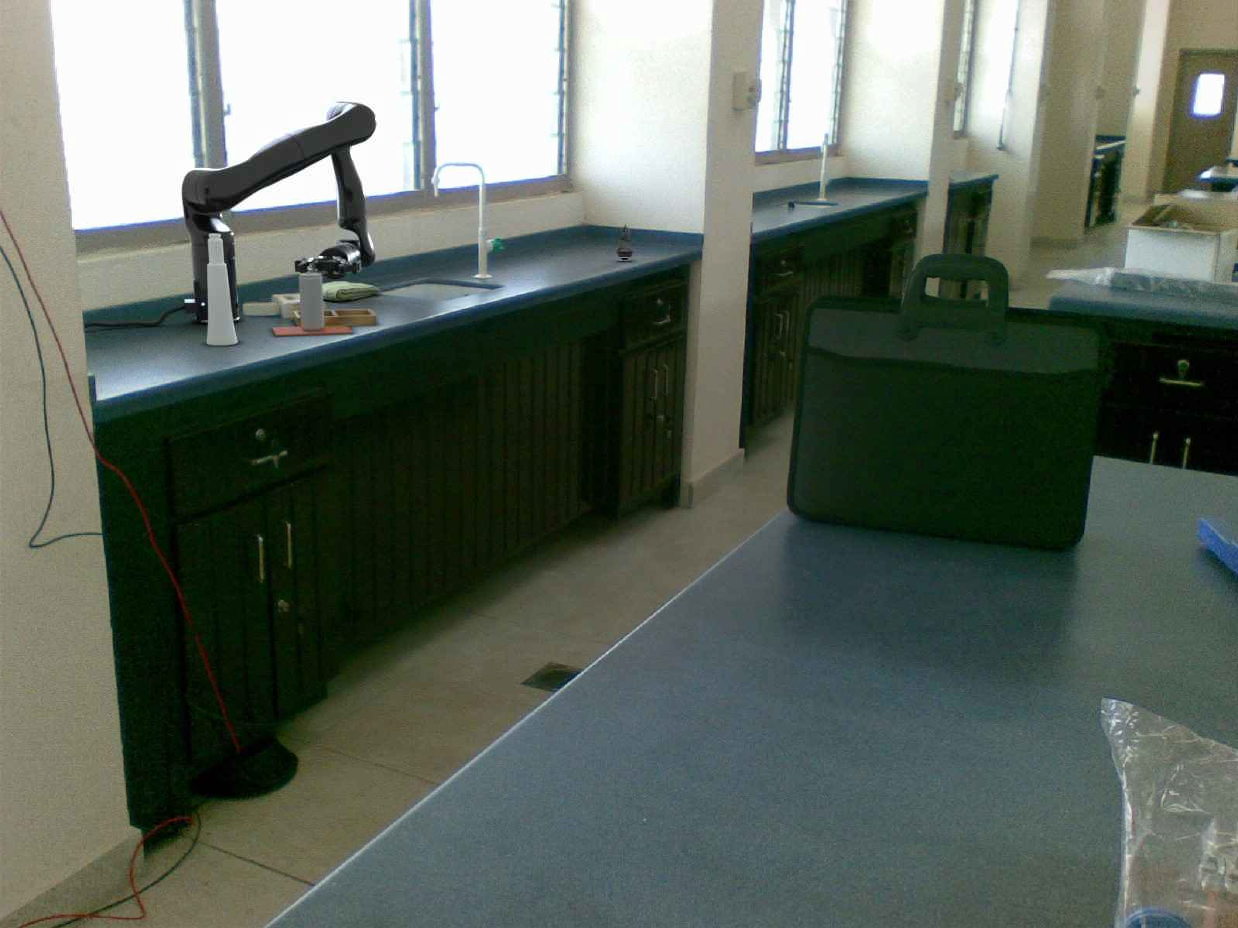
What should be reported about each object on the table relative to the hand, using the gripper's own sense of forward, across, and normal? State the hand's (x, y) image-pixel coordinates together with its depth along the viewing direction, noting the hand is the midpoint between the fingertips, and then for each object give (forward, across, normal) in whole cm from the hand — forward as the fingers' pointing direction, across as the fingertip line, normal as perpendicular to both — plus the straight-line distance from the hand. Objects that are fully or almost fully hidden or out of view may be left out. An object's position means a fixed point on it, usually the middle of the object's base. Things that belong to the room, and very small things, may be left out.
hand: (320, 269), depth 266 cm
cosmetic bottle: (+26, -14, +12) cm, 32 cm away
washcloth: (-40, -5, +12) cm, 43 cm away
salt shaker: (-133, +67, +12) cm, 149 cm away
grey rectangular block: (+10, 0, +12) cm, 15 cm away
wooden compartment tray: (-2, +2, +12) cm, 12 cm away
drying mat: (+10, 0, +12) cm, 16 cm away
